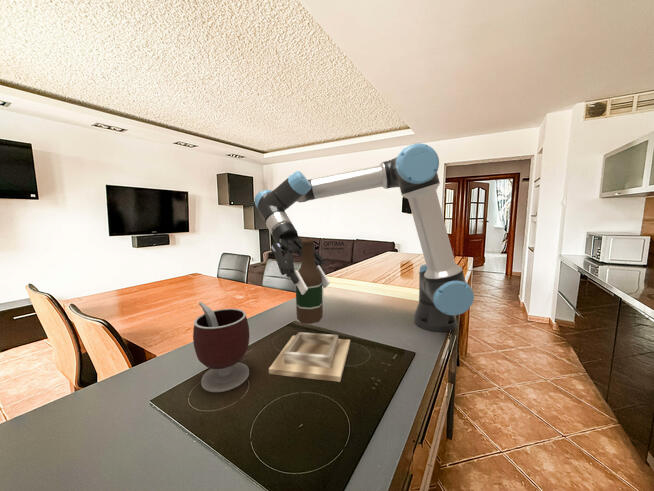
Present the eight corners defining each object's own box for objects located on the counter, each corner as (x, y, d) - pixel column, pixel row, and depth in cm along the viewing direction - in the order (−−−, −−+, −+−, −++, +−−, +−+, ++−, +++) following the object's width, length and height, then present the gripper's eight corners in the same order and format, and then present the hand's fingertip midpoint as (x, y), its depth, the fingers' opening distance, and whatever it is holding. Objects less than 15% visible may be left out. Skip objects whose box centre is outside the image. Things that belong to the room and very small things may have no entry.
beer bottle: (309, 311, 85) (307, 237, 82) (328, 317, 80) (326, 238, 77) (291, 319, 79) (288, 239, 76) (310, 326, 74) (308, 241, 71)
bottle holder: (350, 343, 89) (349, 331, 88) (340, 381, 70) (339, 365, 69) (293, 339, 93) (292, 327, 93) (269, 373, 74) (268, 358, 73)
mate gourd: (262, 370, 76) (258, 302, 73) (221, 401, 64) (214, 321, 61) (226, 356, 83) (220, 294, 81) (183, 381, 72) (175, 310, 69)
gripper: (302, 234, 95) (335, 288, 85) (249, 240, 81) (281, 304, 71) (311, 219, 90) (347, 274, 81) (256, 223, 76) (291, 289, 67)
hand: (316, 288), depth 76 cm, fingers closed on beer bottle, 7 cm apart
